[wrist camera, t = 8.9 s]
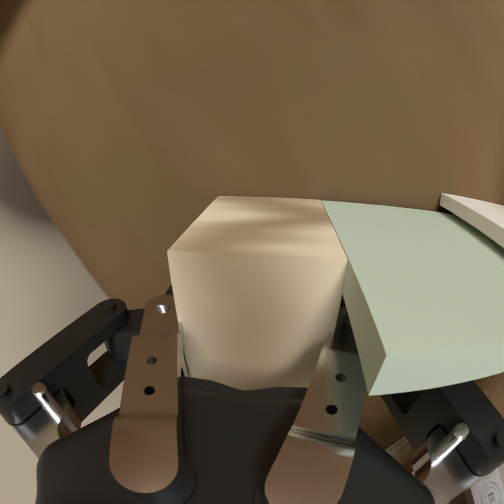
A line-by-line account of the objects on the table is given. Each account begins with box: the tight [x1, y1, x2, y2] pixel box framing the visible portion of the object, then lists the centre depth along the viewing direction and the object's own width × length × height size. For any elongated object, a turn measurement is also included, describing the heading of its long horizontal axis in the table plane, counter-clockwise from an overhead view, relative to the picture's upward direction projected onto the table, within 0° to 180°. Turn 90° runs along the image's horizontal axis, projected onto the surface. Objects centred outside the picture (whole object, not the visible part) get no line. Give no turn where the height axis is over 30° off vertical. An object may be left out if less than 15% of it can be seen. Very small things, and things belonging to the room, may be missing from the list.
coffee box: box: [385, 436, 504, 504], centre depth 12 cm, size 9×6×16 cm
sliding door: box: [321, 201, 504, 396], centre depth 7 cm, size 11×2×9 cm, turn 90°
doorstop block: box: [167, 196, 348, 390], centre depth 11 cm, size 4×7×6 cm, turn 0°
